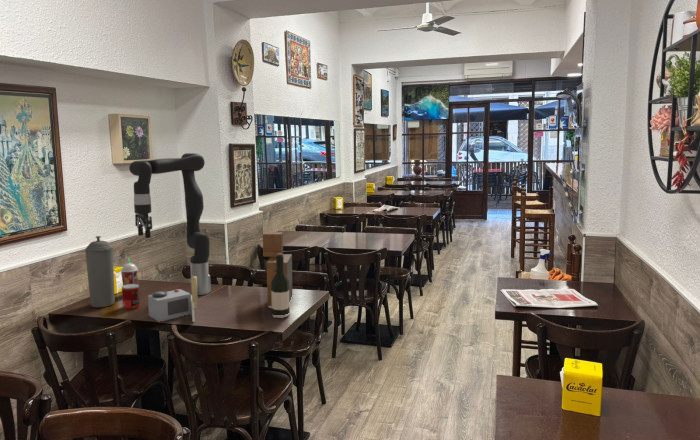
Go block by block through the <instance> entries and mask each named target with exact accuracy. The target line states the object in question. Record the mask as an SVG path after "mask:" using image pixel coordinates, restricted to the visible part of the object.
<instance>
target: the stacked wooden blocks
mask: <svg viewBox="0 0 700 440" xmlns="http://www.w3.org/2000/svg"><path fill="white" fill-rule="evenodd" d="M283 233H284V232H283V231H281V232H278V231H277V232H275V231H274V232H271V231H270V232H269V231H268V232H267V231H265V232H263V233H262V256H263V257H269V259H268V260H267V261H265V262H264V272H265V273H266V286H267V287H266V289H267V292H266V293H267V294H266V295H267V297H266V298H267V300H266V301H267V306H272V296H271V282H272V280H273V278H274V277H275V275H276V256H277V254H278V253H282V254H283V255H284V274H285V276H286V277H287V279H288V280H289V302H290V300H291V297H292V295H293V255H292V253H290V254H289V253H287V254H286V253H285V254H284V234H283ZM292 298H293V297H292ZM291 301H292V300H291ZM290 303H291V302H290Z"/></svg>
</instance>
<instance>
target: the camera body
mask: <svg viewBox="0 0 700 440" xmlns="http://www.w3.org/2000/svg"><path fill="white" fill-rule="evenodd" d="M191 295H192V293H190V292H188V291H185V290H183V289H181V288H180V289H179V288H176V289H174V290H169V291H164V290H163V291H162V290H160V291H155V292H153V293H151V294H149V295H147V303H148V304H147V305H148V316H149V317H150V318H152V319H154V320H155V321H157V322H158V323H160V321H161V322H165V321H168V320H173V319H177V318H181V317H180V316H182V317H185V316H184V315H186V316H188V315H189V314H190V315H192V314H191Z"/></svg>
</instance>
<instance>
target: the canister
mask: <svg viewBox="0 0 700 440" xmlns="http://www.w3.org/2000/svg"><path fill="white" fill-rule="evenodd" d="M101 237H102V236H101V235H96V236H95V238H96V240H94V241H91V242H90V243H89V244H88V246H86V247H85V250H84V252H85V253H84V254H85V262H86V272H87V279H88V280H87V282H88V290H89V291H88V292H89V299H90V300H89V302H90V306H91V307H93V308H104V307H105V308H106V307H111V306H112V305H114V304H115V299H116V297H115V268H114V265H115V264H114V247H113V245H111V244H110V243H109V242H108V241H106V240H101V239H100V238H101Z"/></svg>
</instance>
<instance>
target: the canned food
mask: <svg viewBox="0 0 700 440" xmlns="http://www.w3.org/2000/svg"><path fill="white" fill-rule="evenodd" d="M121 293H122V294H121V295H122V307H123V309H124V310H137V309H139V308H140V307H141V301H140V285H139V284H127V285H123V284H122V286H121Z"/></svg>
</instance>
